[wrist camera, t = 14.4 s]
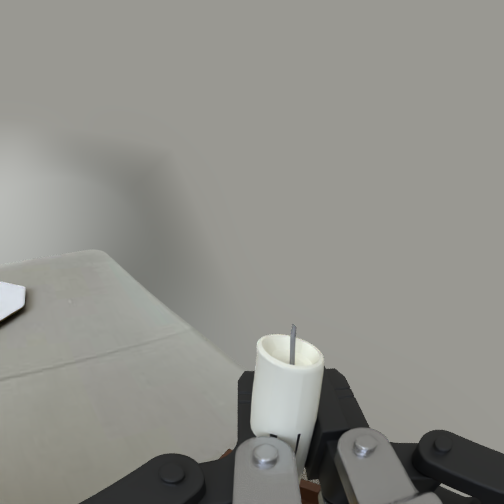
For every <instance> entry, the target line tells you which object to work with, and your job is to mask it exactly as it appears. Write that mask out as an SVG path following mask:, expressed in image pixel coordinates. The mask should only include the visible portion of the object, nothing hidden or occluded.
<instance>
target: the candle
mask: <svg viewBox="0 0 504 504" xmlns="http://www.w3.org/2000/svg"><path fill="white" fill-rule="evenodd" d="M323 371H324V357H323V355H322V354H321V352H320V351H319V350H318V349H317V348H316V347H315V346H314V345H312V344H311V343H309V342H307V341H305V340H303V339H300V338H297V337H296V326H295V325H294V324H292V330H291V336H290V335H283V334H272V335H267V336H264V337H262V338H261V339H259V340H258V342H257V356H256V365H255V374H254V382H253V391H252V402H251V419H250V424H251V429H252V431H253V433H254V434H255V435H256V436H257V437H259V436H270V434H273V435H277V438H278V439H281V440H283V441H284V442H286V443H287V444H289V445H290V446H291V448H292V449H293V451H294V454H295V448H296V442H297V436H298V434H301V435H300V439H299V444H298V448H297V453H296V457H295V459H296V466H297V473H298V481H299V484H300V481H301V477H302V474H303V470H304V467H305V463H306V459H307V455H308V452H309V448H310V444H311V440H312V436H313V432H314V427H315V423H316V419H317V413H318V406H319V400H320V393H321V386H322V379H323Z"/></svg>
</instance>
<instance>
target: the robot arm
mask: <svg viewBox="0 0 504 504" xmlns="http://www.w3.org/2000/svg"><path fill="white" fill-rule="evenodd" d="M254 374H255V371H244V373H243V374H242V376H241V377H240V379H239V380H238V442H237V445H236V447H235V448H234V450H233V451H232V452H231V453H229V454H228V455H227V456H225V457H223V458H221V459H218V460H214V461H210V462H204V463H199V464H198V463H197V462H196V461H195V460H194V459H192V458H190V457H188V456H185V455H181V454H163V455H159V456H157V457H155V458H153V459H151V460H150V461H148V462H147V463H145V464H144V465H142V466H141V467H139V468H138V469H136V470H134V471H133V472H131V473H130V474H128V475H127V476H125V477H124V478H122V479H120V480H119V481H117V482H115V483H114V484H112V485H110V486H109V487H107V488H105V489H104V490H102V491H100V492H99V493H97V494H95V495H93V496H92V497H90V498H88V499H86V500H84V501H83V502H81V503H79V504H302V503H301V495H300V488H299V481H298V473H297V466H296V459H295V457H296V453H297V448H298V444H299V439H300V435H301V434H298V436H297V442H296V448H295V454H294V451H293V449H292V448H291V446H290V445H289V444H287V443H286V442H284V441H283V440H281V439H278V438H277V435H273V434H270V436H259V437H257V436H256V435H255V434H254V433H253V431H252V429H251V424H250V419H251V402H252V391H253V382H254ZM305 469H306V473H307V478H308V480H313V479H319V482H320V486H321V488H320V490H319V493H318V501H319V504H504V454H503V453H500V452H498V451H495V450H492V449H489V448H487V447H485V446H482V445H479V444H477V443H475V442H472V441H470V440H468V439H465V438H463V437H461V436H458V435H456V434H454V433H451V432H449V431H445V430H433V431H430V432H428V433H426V434H425V435H423V437H422V438H421V440H420V441H419V443H393V442H389V441H388V439H387V438H386V436H384V435H383V434H382V433H381V432H379V431H377V430H374V429H371V428H370V427H369V425H368V423H367V421H366V419H365V417H364V415H363V413H362V411H361V409H360V407H359V405H358V403H357V401H356V398H354V395H353V393H352V391H351V389H350V386H349V384H348V382H347V380H346V378H345V377H344V376H343V375H342V374H341V373H339V372H338V371H337V370H336V369H326V368H325V366H324V371H323V379H322V386H321V393H320V400H319V406H318V413H317V419H316V423H315V427H314V432H313V436H312V440H311V444H310V448H309V452H308V455H307V459H306V463H305ZM441 483H443V484H445V485H447V486H449V487H451V488H453V489H456V490H458V491H460V492H463V493H465V494H468V495H470V496H472V497H464V496H461V495H459V494H456V493H454V492H452V491H450V490H447V489H445V488H443V487H441V486H439V485H440V484H441Z"/></svg>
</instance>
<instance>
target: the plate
mask: <svg viewBox="0 0 504 504" xmlns="http://www.w3.org/2000/svg"><path fill="white" fill-rule="evenodd" d="M25 293H26V288H25V287H24V286H20V285H15V284H10V283H6V282H1V281H0V322H1V321H3V320H5V319H6V318H8V317H9V316H11V315H13V314H14V313H16V312H17V311H19V310H21V309H22V308H23V307H24V306H25Z"/></svg>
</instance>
